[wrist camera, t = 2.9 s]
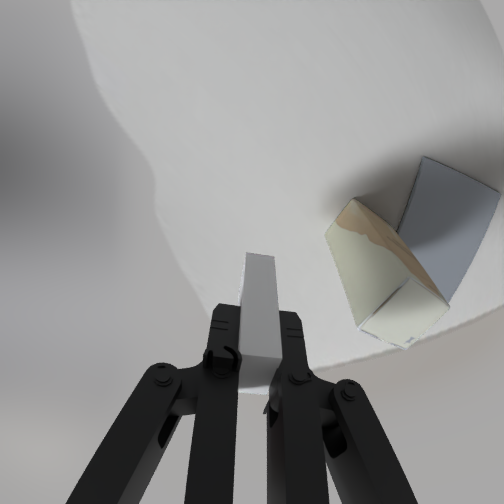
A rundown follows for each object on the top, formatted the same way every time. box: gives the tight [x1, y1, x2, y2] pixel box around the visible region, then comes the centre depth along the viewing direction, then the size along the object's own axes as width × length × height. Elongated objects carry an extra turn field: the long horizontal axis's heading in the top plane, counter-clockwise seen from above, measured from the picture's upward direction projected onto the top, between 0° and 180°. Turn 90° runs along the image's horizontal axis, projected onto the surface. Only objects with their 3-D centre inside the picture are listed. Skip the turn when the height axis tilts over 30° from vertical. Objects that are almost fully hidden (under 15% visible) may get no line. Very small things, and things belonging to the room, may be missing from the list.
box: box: [325, 199, 450, 350], centre depth 18 cm, size 5×4×11 cm
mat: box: [397, 157, 501, 303], centre depth 24 cm, size 16×12×1 cm
